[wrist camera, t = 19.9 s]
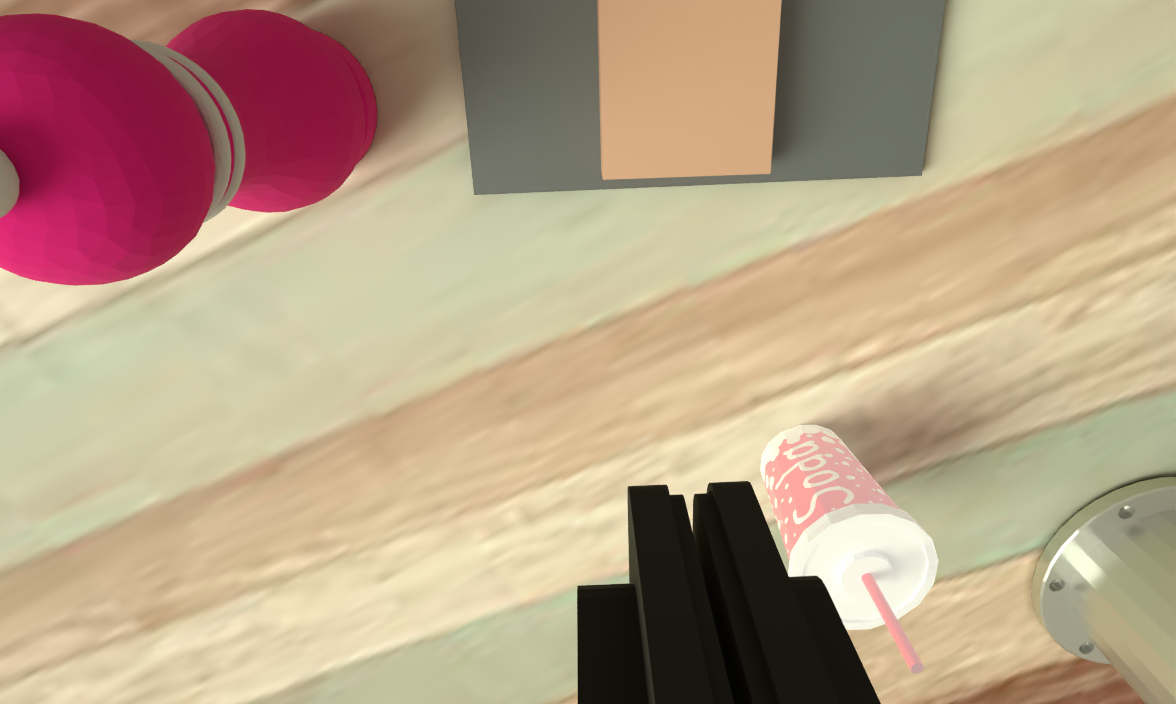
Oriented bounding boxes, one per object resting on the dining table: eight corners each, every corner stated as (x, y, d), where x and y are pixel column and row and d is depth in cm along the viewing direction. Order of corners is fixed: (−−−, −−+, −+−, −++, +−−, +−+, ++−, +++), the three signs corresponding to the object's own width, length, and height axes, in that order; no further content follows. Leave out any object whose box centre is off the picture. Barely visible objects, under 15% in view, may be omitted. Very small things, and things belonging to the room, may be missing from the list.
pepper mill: (407, 176, 33) (190, 342, 14) (252, 202, 33) (-157, 396, 15) (363, 0, 30) (22, -78, 11) (194, 30, 30) (-403, 1, 12)
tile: (784, -44, 27) (597, -37, 27) (770, 173, 30) (602, 179, 30) (770, -38, 29) (596, -32, 29) (759, 166, 32) (601, 172, 32)
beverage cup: (856, 400, 37) (1005, 586, 24) (864, 498, 40) (1003, 714, 27) (738, 423, 38) (823, 617, 25) (753, 519, 40) (838, 742, 27)
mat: (965, -202, 28) (973, -207, 27) (916, 173, 33) (921, 175, 32) (439, -179, 28) (436, -184, 27) (475, 192, 33) (474, 194, 32)
